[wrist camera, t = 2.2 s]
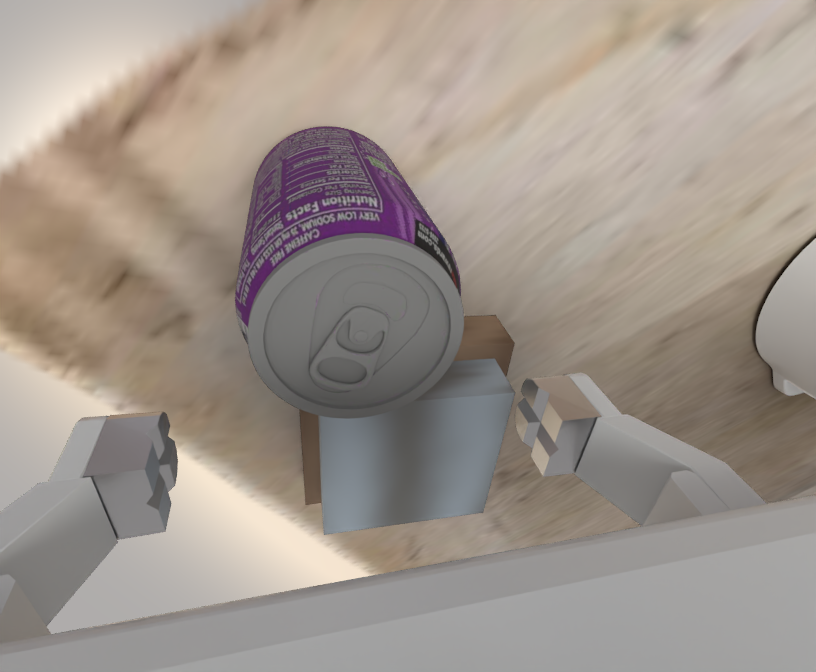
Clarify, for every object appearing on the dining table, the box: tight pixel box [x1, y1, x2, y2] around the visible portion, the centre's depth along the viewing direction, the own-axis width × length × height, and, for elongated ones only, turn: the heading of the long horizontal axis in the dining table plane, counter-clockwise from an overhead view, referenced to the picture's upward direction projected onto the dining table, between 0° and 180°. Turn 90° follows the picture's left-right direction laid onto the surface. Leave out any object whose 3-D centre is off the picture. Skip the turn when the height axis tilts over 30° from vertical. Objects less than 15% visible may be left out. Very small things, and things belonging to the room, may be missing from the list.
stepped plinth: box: [300, 315, 515, 535], centre depth 29 cm, size 12×12×6 cm
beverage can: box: [235, 127, 464, 419], centre depth 18 cm, size 7×7×12 cm
